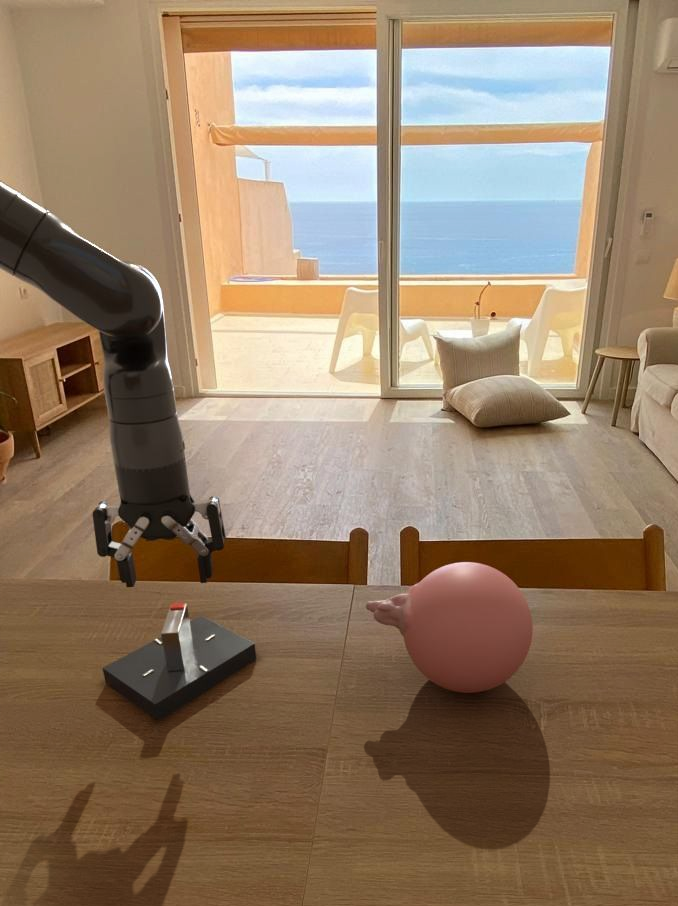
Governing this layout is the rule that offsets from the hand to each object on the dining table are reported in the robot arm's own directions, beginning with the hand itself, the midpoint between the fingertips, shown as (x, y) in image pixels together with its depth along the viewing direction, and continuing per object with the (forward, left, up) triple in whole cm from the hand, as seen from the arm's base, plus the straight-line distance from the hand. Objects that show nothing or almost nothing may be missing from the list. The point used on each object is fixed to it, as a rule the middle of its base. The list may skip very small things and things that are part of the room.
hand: (168, 581), depth 83 cm
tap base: (0, 0, -13) cm, 13 cm away
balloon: (+26, -21, -13) cm, 36 cm away
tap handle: (0, 0, -10) cm, 10 cm away
